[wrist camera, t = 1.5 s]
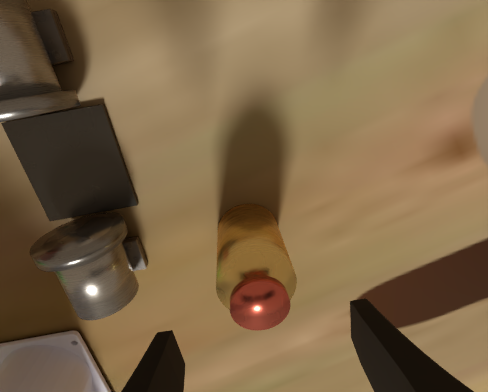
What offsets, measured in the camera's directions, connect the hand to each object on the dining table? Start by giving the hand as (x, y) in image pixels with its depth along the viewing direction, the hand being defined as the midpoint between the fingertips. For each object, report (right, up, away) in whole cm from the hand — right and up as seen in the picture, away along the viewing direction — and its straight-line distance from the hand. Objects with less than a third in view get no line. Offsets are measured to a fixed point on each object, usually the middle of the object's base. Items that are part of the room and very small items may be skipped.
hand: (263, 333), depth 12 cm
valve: (-1, +3, +10) cm, 10 cm away
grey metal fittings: (-12, +7, +7) cm, 15 cm away
